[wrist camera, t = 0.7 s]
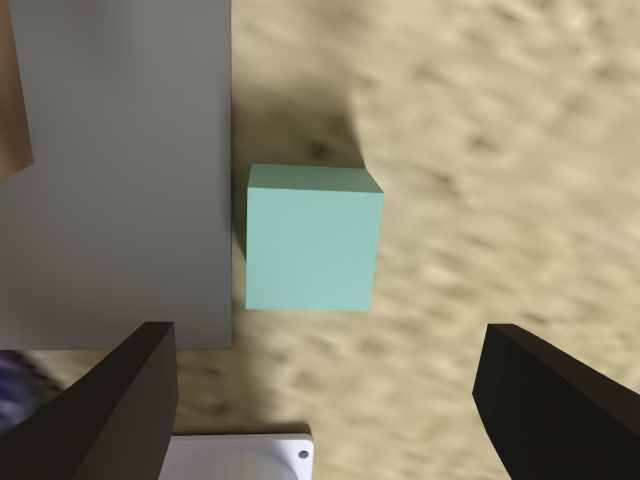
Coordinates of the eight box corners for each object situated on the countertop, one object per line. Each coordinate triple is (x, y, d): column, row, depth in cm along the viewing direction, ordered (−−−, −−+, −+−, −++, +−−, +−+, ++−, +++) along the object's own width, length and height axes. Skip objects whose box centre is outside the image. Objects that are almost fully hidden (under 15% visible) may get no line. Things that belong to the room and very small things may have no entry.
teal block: (354, 269, 21) (369, 310, 18) (249, 266, 20) (245, 309, 17) (365, 167, 19) (384, 193, 16) (251, 162, 19) (247, 187, 16)
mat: (231, 344, 22) (231, 349, 21) (-164, 343, 20) (-172, 349, 19) (230, -150, 15) (229, -155, 14) (-370, -219, 13) (-389, -227, 13)
